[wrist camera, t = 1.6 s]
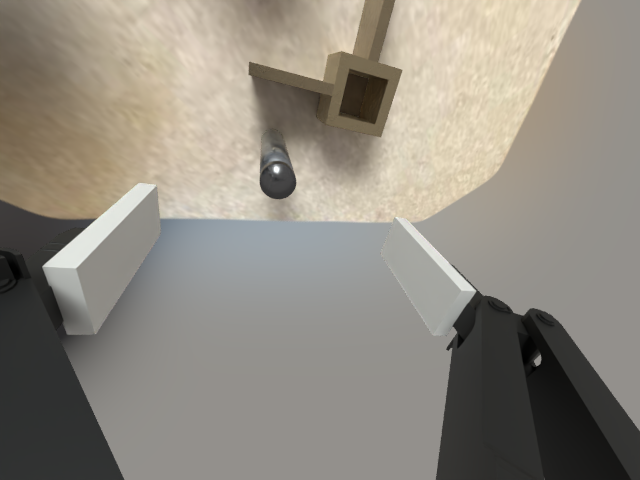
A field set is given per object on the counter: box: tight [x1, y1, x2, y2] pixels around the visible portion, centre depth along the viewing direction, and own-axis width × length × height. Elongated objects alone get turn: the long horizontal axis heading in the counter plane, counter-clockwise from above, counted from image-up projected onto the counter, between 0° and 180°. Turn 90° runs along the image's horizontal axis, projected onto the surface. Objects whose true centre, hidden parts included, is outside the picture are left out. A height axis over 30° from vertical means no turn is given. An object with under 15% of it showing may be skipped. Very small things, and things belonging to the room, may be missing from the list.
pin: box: [260, 129, 296, 199], centre depth 27 cm, size 3×3×15 cm
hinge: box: [249, 0, 402, 137], centre depth 26 cm, size 14×16×6 cm
